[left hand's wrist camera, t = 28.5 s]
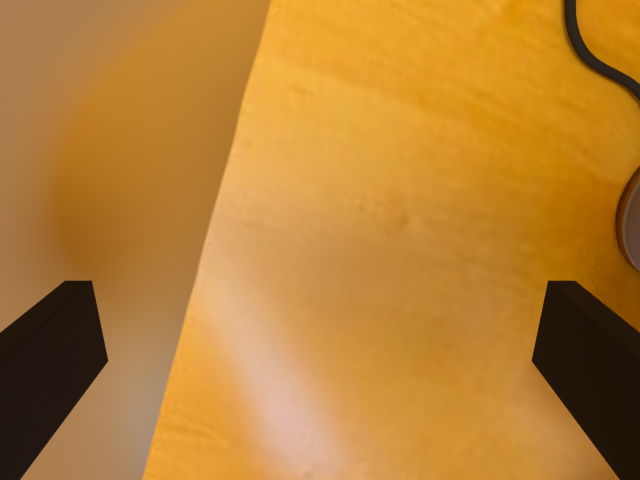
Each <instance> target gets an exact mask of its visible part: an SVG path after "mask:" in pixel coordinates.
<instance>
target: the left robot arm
mask: <svg viewBox="0 0 640 480" xmlns="http://www.w3.org/2000/svg"><path fill="white" fill-rule="evenodd" d="M565 21H566V27H567V31H568V35H569V38H570V41H571V43H572V45H573V47H574V49H575V51H576V52H577V54H578V55H579V57H580V58H581V59H582V60H583V61H584V62H585V63H586V64H587V65H589V66H590V67H591V68H593V69H594V70H596V71H598V72H599V73H601V74H603V75H605V76H607V77H609V78H611V79H613V80H615V81H617V82H619V83H620V84H622V85H624V86H625V87H626V88H628V89H629V90H630V91H631V92H632V93H633V94H635V95H636V97H637V98H638V99H639V100H640V84H639V83H638V82H636V81H635V80H634V79H632V78H631V77H629V76H627V75H626V74H624V73H622V72H620V71H618V70H616V69H614V68H612V67H610V66H608V65H606V64H605V63H603V62H601V61H600V60H599V59H597V58H596V57H595V56H594V55H593V54H592V53H591V52H590V51H589V50H588V48H587V47H586V45H585V44H584V42H583V40H582V37H581V35H580V32H579V29H578V25H577V19H576V0H565ZM616 234H617V240H618V244H619V247H620V250H621V252H622V254H623V256H624V257H625V259H626V260H627V262H628V263H629V264H630V265H631V266H632V267H633V268H634V269H635V270H636V271H638V272H639V273H640V168H639V170H638V171H637V172H636V174H635V175H634V176H633V178H632V179H631V181H630V182H629V184H628V186H627V188H626V190H625V192H624V194H623V196H622V199H621V202H620V205H619V208H618V213H617V219H616ZM107 362H108V357H107V353H106V348H105V343H104V338H103V333H102V328H101V323H100V319H99V314H98V309H97V304H96V299H95V294H94V289H93V285H92V281H64V282H63V283H62V284H60V285H59V286H58V287H57V288H55V289H54V290H53V291H52V292H50V293H49V294H48V295H47V296H46V297H44V298H43V299H42V300H41V301H39V302H38V303H37V304H36V305H34V306H33V307H32V308H31V309H29V310H28V311H27V312H26V313H24V314H23V315H22V316H21V317H19V318H18V319H17V320H16V321H14V322H13V323H12V324H11V325H9V326H8V327H7V328H6V329H4V330H3V331H2V332H1V333H0V480H20V479H21V478H22V476H23V475H24V474H25V472H26V471H27V470H28V468H29V467H30V466H31V464H32V463H33V462H34V460H35V459H36V458H37V456H38V455H39V454H40V452H41V451H42V449H43V448H44V447H45V445H46V444H47V443H48V441H49V440H50V439H51V437H52V436H53V435H54V433H55V432H56V431H57V429H58V428H59V427H60V425H61V424H62V423H63V421H64V420H65V419H66V417H67V416H68V414H69V413H70V412H71V410H72V409H73V408H74V406H75V405H76V404H77V402H78V401H79V400H80V398H81V397H82V396H83V394H84V393H85V392H86V390H87V389H88V388H89V386H90V385H91V384H92V382H93V381H94V380H95V378H96V377H97V375H98V374H99V373H100V371H101V370H102V369H103V367H104V366H105V365H106V363H107ZM532 362H533V363H534V365H535V366H536V367H537V369H538V370H539V371H540V373H541V374H542V376H543V377H544V378H545V380H546V381H547V382H548V384H549V385H550V386H551V388H552V389H553V390H554V392H555V393H556V394H557V396H558V397H559V398H560V400H561V401H562V402H563V404H564V405H565V406H566V408H567V409H568V410H569V412H570V413H571V415H572V416H573V417H574V419H575V420H576V421H577V423H578V424H579V425H580V427H581V428H582V429H583V431H584V432H585V433H586V435H587V436H588V437H589V439H590V440H591V441H592V443H593V444H594V445H595V447H596V448H597V449H598V451H599V452H600V454H601V455H602V456H603V458H604V459H605V460H606V462H607V463H608V464H609V466H610V467H611V468H612V470H613V471H614V472H615V474H616V475H617V476H618V478H619V479H620V480H640V333H639V332H638V331H637V330H636V329H634V328H633V327H632V326H631V325H629V324H628V323H627V322H626V321H624V320H623V319H622V318H621V317H619V316H618V315H617V314H616V313H614V312H613V311H612V310H611V309H609V308H608V307H607V306H606V305H604V304H603V303H602V302H601V301H599V300H598V299H597V298H596V297H595V296H593V295H592V294H591V293H590V292H588V291H587V290H586V289H585V288H583V287H582V286H581V285H580V284H578V283H577V282H576V281H548V284H547V289H546V294H545V299H544V304H543V309H542V314H541V318H540V323H539V328H538V333H537V338H536V343H535V348H534V353H533V357H532Z"/></svg>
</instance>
